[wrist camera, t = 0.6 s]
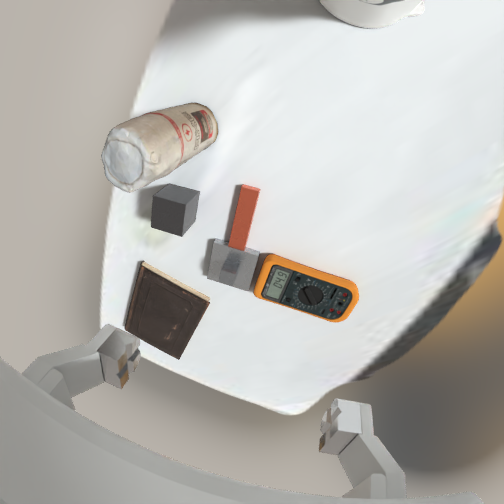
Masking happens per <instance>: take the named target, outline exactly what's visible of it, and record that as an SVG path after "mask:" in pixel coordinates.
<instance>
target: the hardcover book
mask: <svg viewBox="0 0 504 504" xmlns="http://www.w3.org/2000/svg"><path fill="white" fill-rule="evenodd" d="M209 300H210V298H209V297H208V296H206V295H204V294H202V293H200V292H198V291H196V290H194V289H192V288H191V287H189V286H187V285H185V284H183V283H181V282H179V281H178V280H176V279H174V278H172V277H170V276H168V275H167V274H165V273H163V272H161V271H159V270H158V269H156V268H154V267H152V266H151V265H149V264H147V263H145V262H144V261H143V262H142V263H141V265H140V268H139V272H138V276H137V279H136V283H135V287H134V291H133V295H132V299H131V303H130V307H129V311H128V315H127V320H126V324H125V330H126V331H128V332H129V333H131V334H133V335H135V336H136V337H138V338H140V339H141V340H143V341H145V342H147V343H149V344H150V345H152V346H154V347H156V348H158V349H159V350H161V351H163V352H165V353H167V354H169V355H171V356H173V357H175V358H176V359H178V360H179V359H180V357H181V355H182V353H183V351H184V350H185V348H186V346H187V344H188V342H189V340H190V339H191V337H192V335H193V333H194V331H195V329H196V328H197V326H198V324H199V322H200V320H201V318H202V317H203V315H204V313H205V311H206V309H207V307H208V306H209V304H210V302H209Z"/></svg>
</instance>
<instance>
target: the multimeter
mask: <svg viewBox="0 0 504 504" xmlns="http://www.w3.org/2000/svg"><path fill="white" fill-rule="evenodd" d="M254 295H255V296H256V297H257V298H260V299H263V300H266V301H270V302H273V303H276V304H280V305H283V306H286V307H289V308H292V309H295V310H298V311H301V312H304V313H307V314H310V315H313V316H316V317H319V318H321V319H324V320H327V321H330V322H341V321H343V320H345V319H346V318H347V317H348V316H349V315H350V313H351V312H352V310H353V309H354V307H355V305H356V304H357V302H358V300H359V293H358V288H357V286H356V284H355V283H354V282H352V281H350V280H347V279H343V278H340V277H337V276H334V275H331V274H328V273H324V272H321V271H319V270H316V269H313V268H310V267H307V266H304V265H301V264H299V263H296V262H293V261H290V260H288V259H285V258H283V257H280V256H277V255H275V254H270V255H268V256H267V257H266V258H265V260H264V263H263V265H262V268H261V271H260V274H259V276H258V279H257V282H256V285H255V288H254Z"/></svg>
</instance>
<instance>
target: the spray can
mask: <svg viewBox="0 0 504 504" xmlns="http://www.w3.org/2000/svg"><path fill="white" fill-rule="evenodd" d="M217 135H218V125H217V122H216V120H215V118H214V115H213V113H212V111H211V110H210V109H209V108H207V107H206V106H204V105H201V104H198V103H188V104H184V105H180V106H175V107H170V108H167V109H163V110H158V111H154V112H149V113H146V114H144V115H142V116H140V117H136V118H133V119H131V120H128V121H126V122H124V123H122V124H119V125H117V126H116V127H114V128H113V129H112V130H111V131H110V133H109V134H108V138H107V140H106V143H105V146H104V149H103V152H102V155H101V156H102V161H103V164H104V169H105V175H106V177H107V179H108V180H109V181H110V182H111V183H112V184H113V185H114V186H116V187H118V188H120V189H121V190H123V191H126V192H129V193H131V192H133V191H136V190H138V189H140V188H142V187H144V186H146V185H148V184H150V183H151V182H153V181H155V180H157V179H160V178H162V177H164V176H166V175H168V174H170V173H171V172H172V171H173V170H175V169H176V168H178V167H179V166H181V165H182V164H183V163H186V162H187V161H188V160H189V159H191V158H192V157H193V156H195V155H197V154H198V153H200V152H201V151H202V150H204V149H206V148H207V147H209V146H210V145H211V144H212V143H213V142H215V140H216V138H217Z"/></svg>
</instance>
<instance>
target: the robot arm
mask: <svg viewBox="0 0 504 504" xmlns="http://www.w3.org/2000/svg"><path fill="white" fill-rule="evenodd" d="M319 1H320V3H321V4H322V5H323V6H324V7H325V8H326V9H327V10H328V11H329V12H330V13H331V14H333V15H334V16H335V17H337V18H339V19H340V20H342V21H344V22H346V23H349V24H352V25H355V26H358V27H363V28H384V27H388V26H391V25H393V24H395V23H397V22H398V21H400V20H402V19H403V18H405V17H414V16H419V15H421V14H422V13H423V12H424V9H425V7H424V0H319ZM139 345H140V339H139V338H138V337H136V336H134V335H131V334H129V333H127V332H125V331H123V330H121V329H119V328H116V327H114V326H112V325H110V324H107V325H105V326H104V327H103V328H102V329H101V330H100V331H99V332H98V333H97V334H96V335H95V336H94V338H93V339H92V340H91V341H90V342H89V343H88V344H87V345H86V346H85V345H79V346H76V347H72V348H69V349H65V350H62V351H58V352H54V353H51V354H47V355H44V356H40V357H38V358H37V359H36V360H35V361H34V362H33V363H32V364H31V365H30V366H29V367H28V368H27V369H26V370H25V371H24V372H23V373H22V374H20V373H19V372H18V371H17V370H15V369H14V368H13V367H12V366H10V365H9V364H8V363H7V362H6V361H4V360H3V359H2V358H1V357H0V504H484V503H483V501H482V500H481V499H480V498H479V497H478V496H477V495H476V494H475V493H474V492H463V493H456V494H449V495H441V496H432V497H421V498H407V497H406V482H405V473H404V472H403V471H402V469H401V468H400V467H399V465H398V464H397V463H396V461H395V460H394V459H393V457H392V456H391V455H390V453H389V452H388V451H387V449H386V448H385V447H384V446H383V444H382V443H381V441H380V440H379V439H378V438H377V436H374V434H373V421H372V410H371V406H370V404H363V403H358V402H353V401H347V400H342V399H335V400H334V401H333V402H332V404H331V408H330V409H328V410H327V411H326V412H325V414H324V416H323V419H322V422H321V432H322V433H323V435H322V437H321V438H320V444H319V452H322V453H328V454H333V455H338V458H339V460H340V462H341V464H342V466H343V468H344V470H345V472H346V474H347V476H348V478H349V480H350V482H351V484H352V486H353V489H352V490H350V491H349V492H348V493H346V494H345V495H343V496H342V497H331V496H322V495H313V494H306V493H298V492H292V491H286V490H281V489H276V488H271V487H266V486H261V485H257V484H252V483H248V482H244V481H240V480H236V479H232V478H229V477H225V476H221V475H218V474H215V473H212V472H209V471H205V470H202V469H199V468H196V467H193V466H190V465H188V464H185V463H182V462H179V461H177V460H174V459H171V458H169V457H166V456H164V455H161V454H159V453H156V452H154V451H152V450H149V449H147V448H145V447H143V446H140V445H138V444H136V443H134V442H132V441H129V440H127V439H125V438H123V437H121V436H119V435H117V434H115V433H113V432H111V431H109V430H108V429H105V428H104V427H102V426H100V425H98V424H96V423H95V422H93V421H91V420H89V419H88V418H86V417H84V416H82V415H81V414H79V413H77V412H76V411H75V407H74V404H73V402H72V399H71V398H72V397H74V396H76V395H78V394H80V393H83V392H85V391H87V390H89V389H91V388H93V387H95V386H98V385H100V384H102V383H104V381H105V382H107V383H109V384H111V385H113V386H116V387H118V388H120V389H122V388H123V386H124V385H125V383H126V382H127V381H128V379H129V375H128V374H129V373H131V372H134V371H135V369H136V368H137V366H138V363H139V361H140V351H139V349H138V347H139Z"/></svg>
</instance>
